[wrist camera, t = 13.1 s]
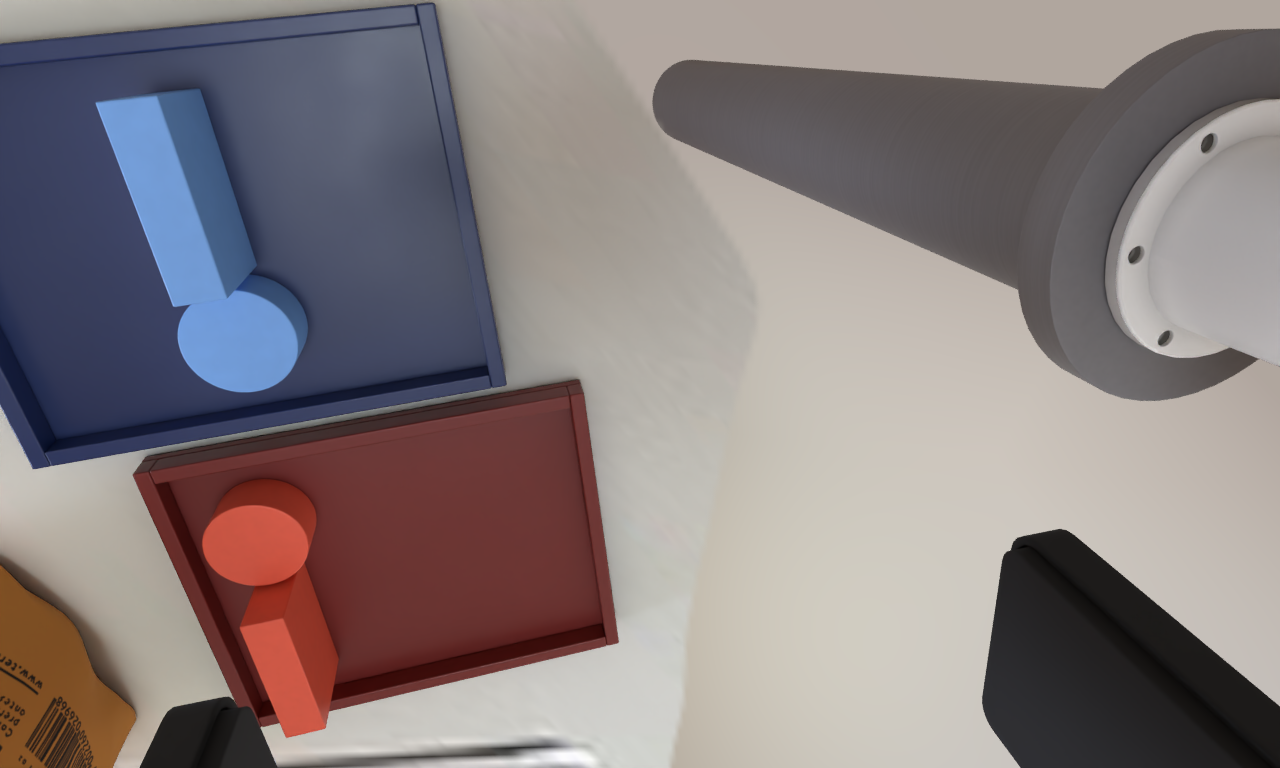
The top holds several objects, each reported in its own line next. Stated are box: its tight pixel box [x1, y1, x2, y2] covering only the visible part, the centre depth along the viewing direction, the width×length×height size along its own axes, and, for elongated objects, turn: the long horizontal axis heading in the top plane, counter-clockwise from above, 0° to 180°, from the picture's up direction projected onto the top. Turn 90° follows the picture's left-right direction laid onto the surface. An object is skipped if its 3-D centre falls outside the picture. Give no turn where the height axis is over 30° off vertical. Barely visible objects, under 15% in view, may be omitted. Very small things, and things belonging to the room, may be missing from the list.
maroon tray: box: [133, 380, 619, 727], centre depth 33 cm, size 17×14×1 cm
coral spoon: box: [202, 479, 339, 738], centre depth 31 cm, size 10×4×4 cm, turn 5°
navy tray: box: [0, 2, 506, 469], centre depth 26 cm, size 17×14×1 cm
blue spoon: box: [96, 88, 308, 392], centre depth 25 cm, size 10×4×4 cm, turn 5°
